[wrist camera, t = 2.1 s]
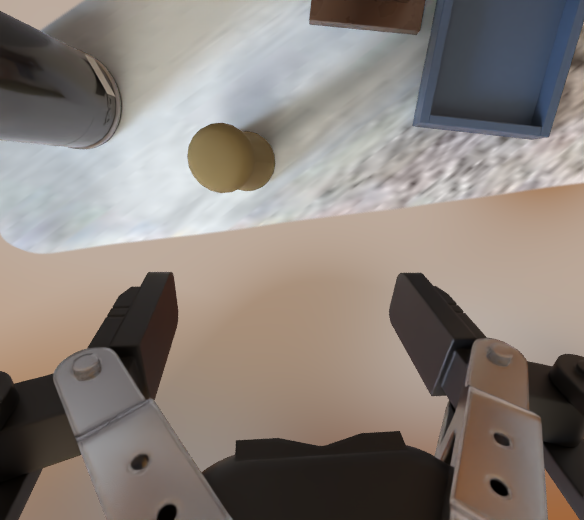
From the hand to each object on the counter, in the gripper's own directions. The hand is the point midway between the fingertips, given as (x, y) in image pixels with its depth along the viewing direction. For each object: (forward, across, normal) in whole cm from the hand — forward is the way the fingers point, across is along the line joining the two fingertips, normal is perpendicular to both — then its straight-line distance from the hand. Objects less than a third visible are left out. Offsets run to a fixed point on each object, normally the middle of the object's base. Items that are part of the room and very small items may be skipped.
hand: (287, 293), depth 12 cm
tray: (+25, -21, -13) cm, 35 cm away
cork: (+26, +2, +1) cm, 26 cm away
